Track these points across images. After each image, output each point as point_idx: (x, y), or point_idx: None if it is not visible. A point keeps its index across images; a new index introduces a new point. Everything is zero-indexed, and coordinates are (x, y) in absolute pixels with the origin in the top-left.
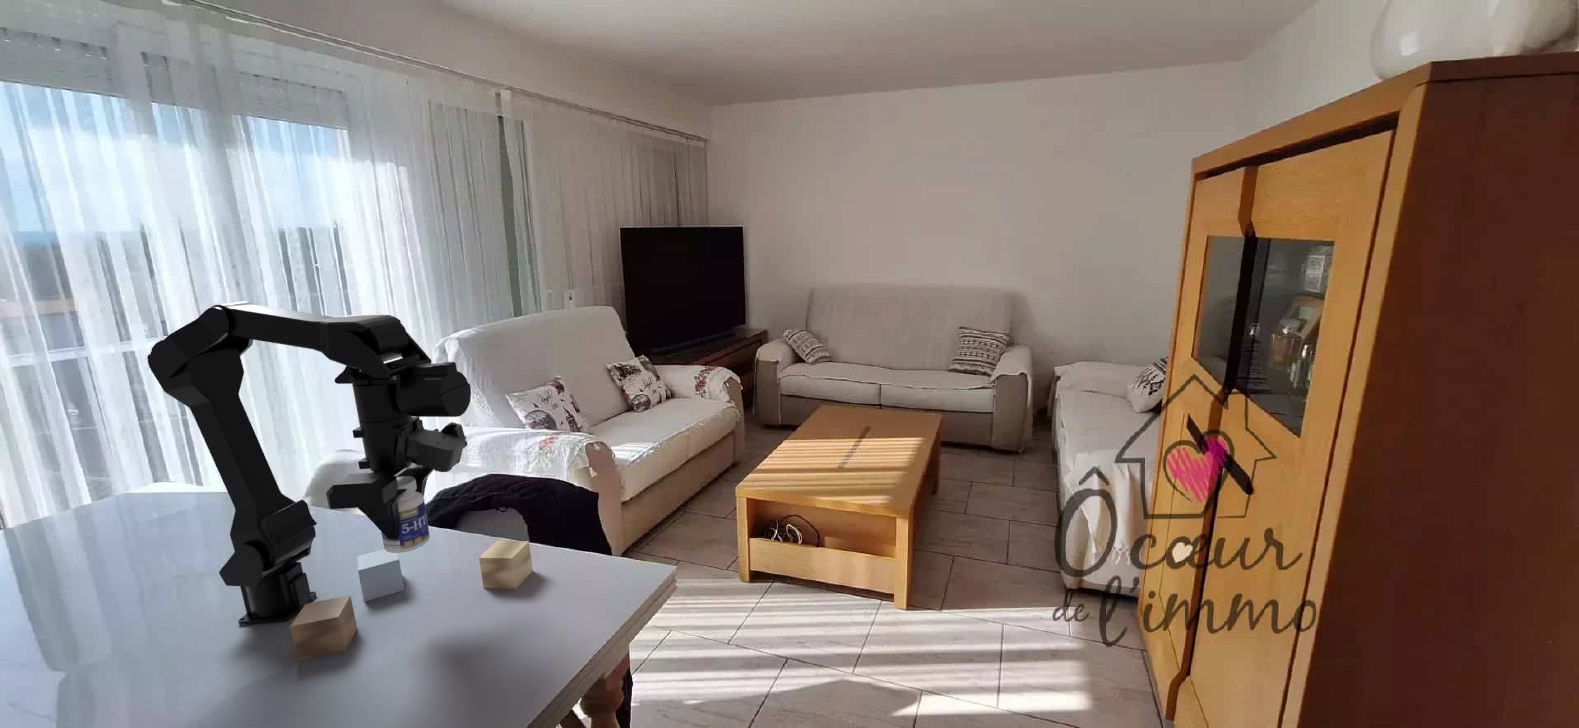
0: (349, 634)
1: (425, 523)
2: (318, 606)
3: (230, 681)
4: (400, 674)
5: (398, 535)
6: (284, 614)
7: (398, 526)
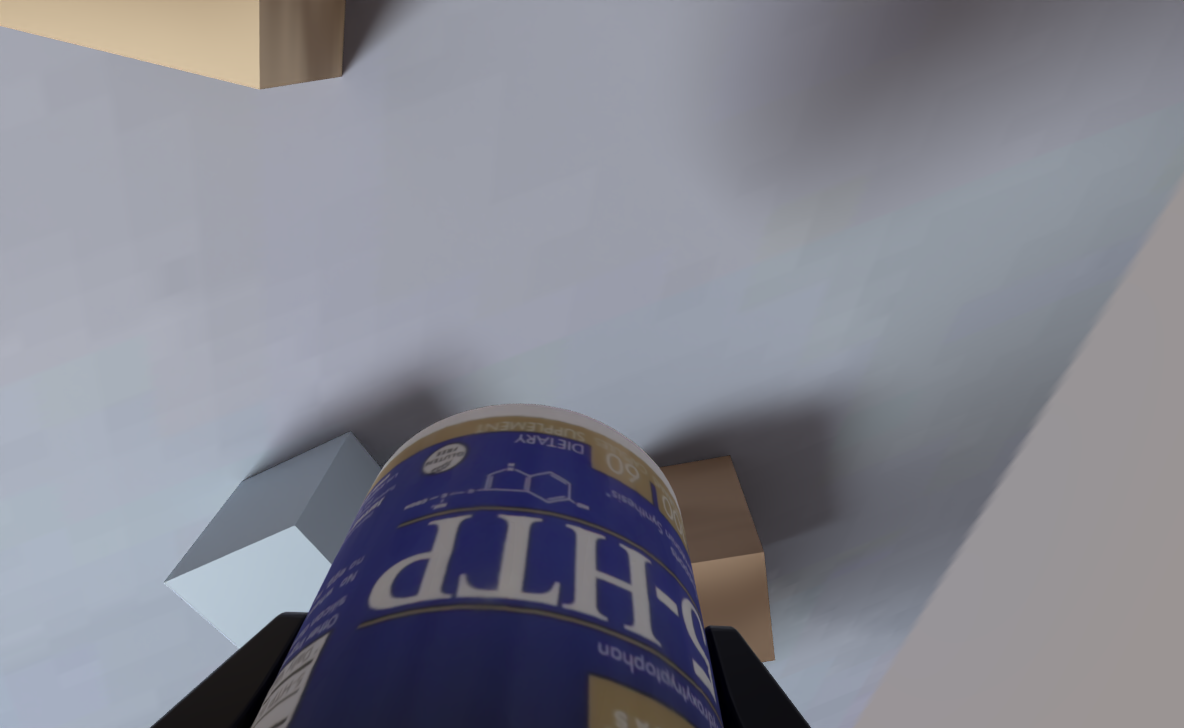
0: (675, 481)
1: (500, 517)
2: None
3: (780, 652)
4: (949, 215)
5: (721, 640)
6: None
7: (751, 724)
